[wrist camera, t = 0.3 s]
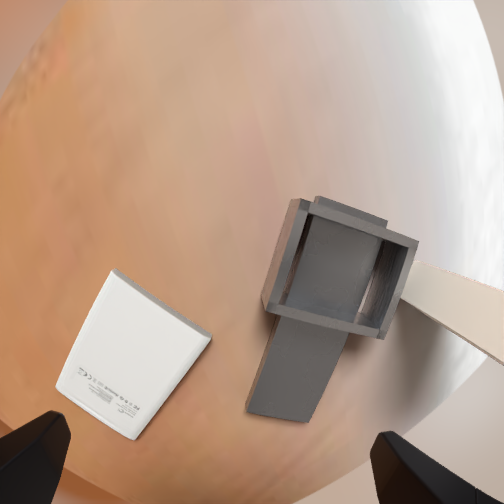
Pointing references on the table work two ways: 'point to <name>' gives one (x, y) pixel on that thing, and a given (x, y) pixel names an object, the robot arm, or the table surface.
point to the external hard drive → (129, 356)
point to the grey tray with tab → (324, 300)
